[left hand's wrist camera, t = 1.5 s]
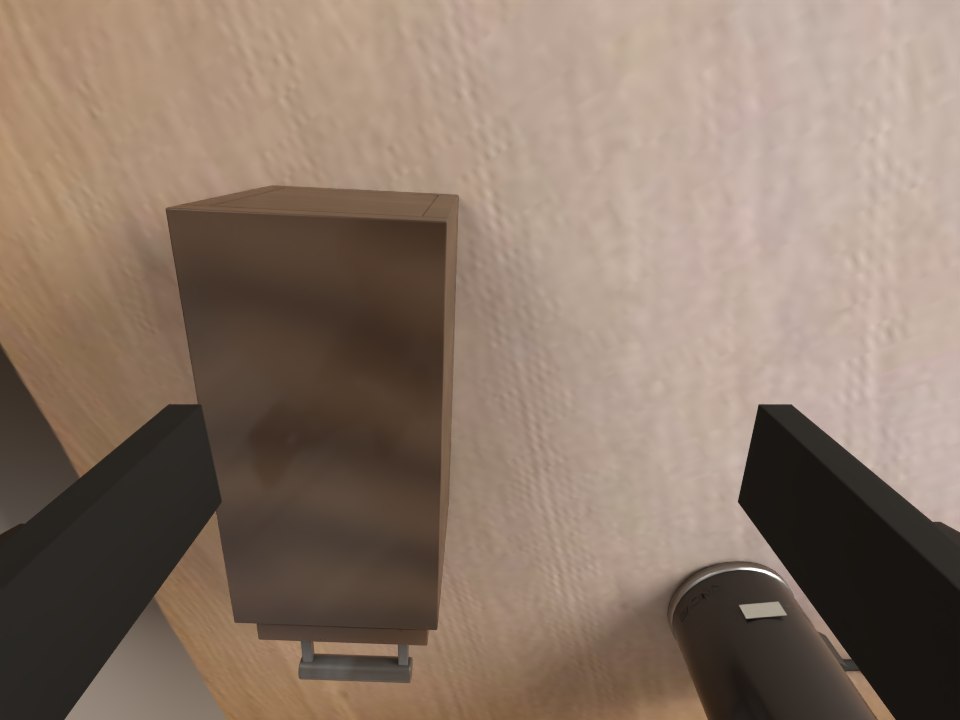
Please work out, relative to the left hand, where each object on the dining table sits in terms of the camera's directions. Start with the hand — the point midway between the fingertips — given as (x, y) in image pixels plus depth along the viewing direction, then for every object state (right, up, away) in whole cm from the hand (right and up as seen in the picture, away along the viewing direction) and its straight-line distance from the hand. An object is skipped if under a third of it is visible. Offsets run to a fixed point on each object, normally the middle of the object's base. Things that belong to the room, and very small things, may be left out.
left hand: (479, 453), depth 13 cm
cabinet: (-7, +2, +21) cm, 23 cm away
